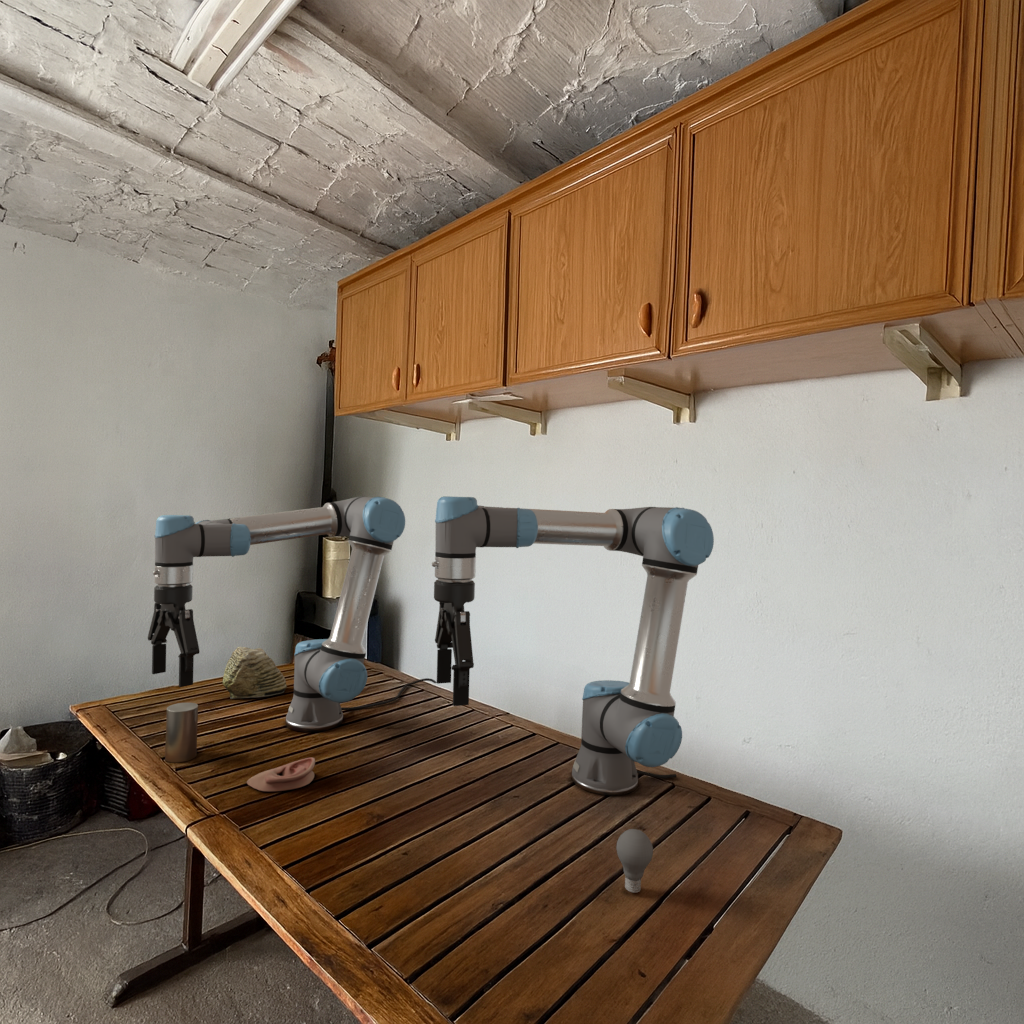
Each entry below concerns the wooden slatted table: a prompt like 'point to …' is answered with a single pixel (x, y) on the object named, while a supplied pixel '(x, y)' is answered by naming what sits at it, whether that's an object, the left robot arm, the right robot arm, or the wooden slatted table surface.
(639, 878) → the light bulb
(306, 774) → the anatomical model
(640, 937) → the wooden slatted table surface
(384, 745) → the wooden slatted table surface
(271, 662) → the fossil
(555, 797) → the wooden slatted table surface
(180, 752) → the canister
